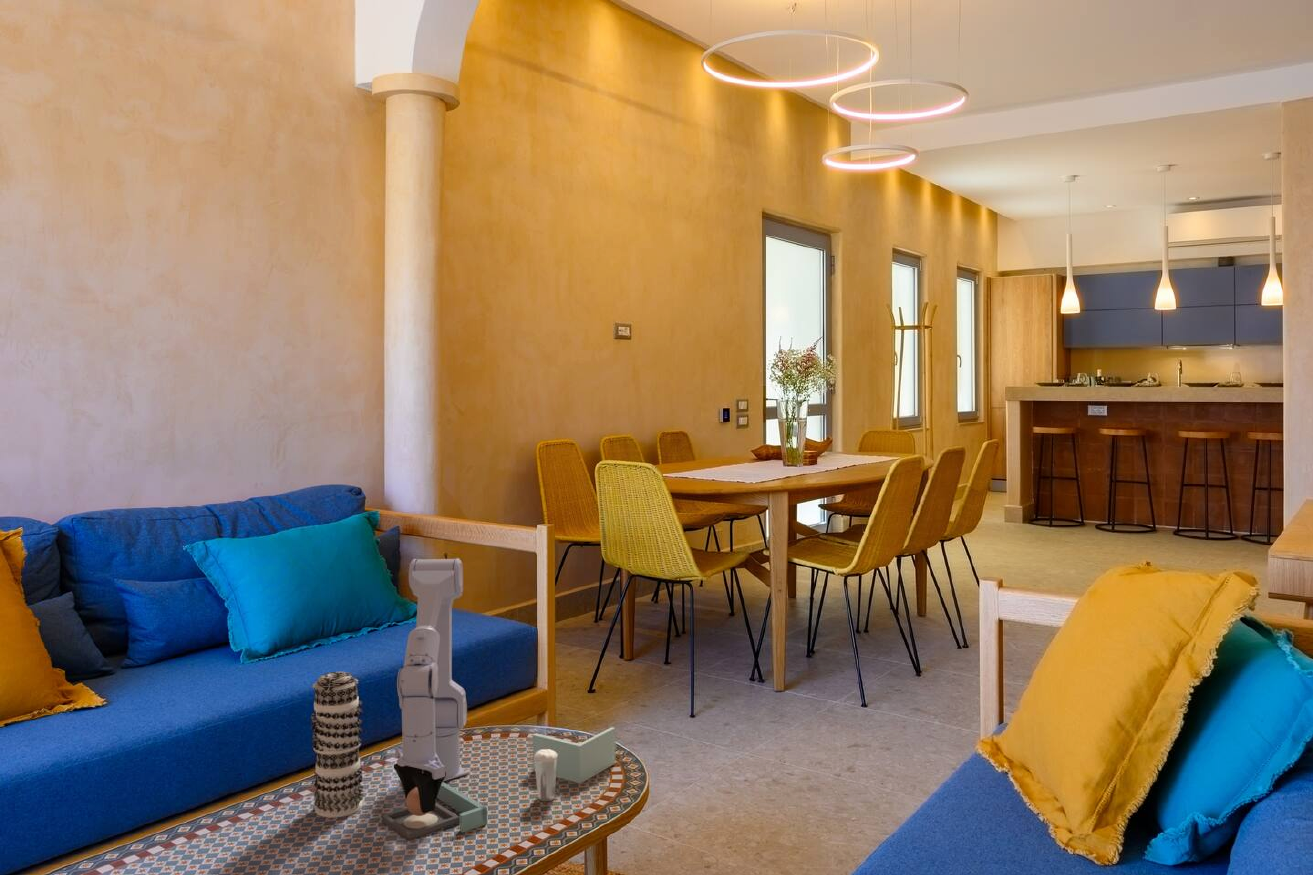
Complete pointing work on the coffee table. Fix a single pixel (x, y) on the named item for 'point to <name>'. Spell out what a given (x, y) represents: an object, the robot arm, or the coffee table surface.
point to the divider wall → (464, 807)
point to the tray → (420, 822)
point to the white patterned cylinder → (337, 745)
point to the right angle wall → (579, 754)
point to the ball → (414, 802)
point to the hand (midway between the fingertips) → (420, 806)
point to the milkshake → (546, 773)
